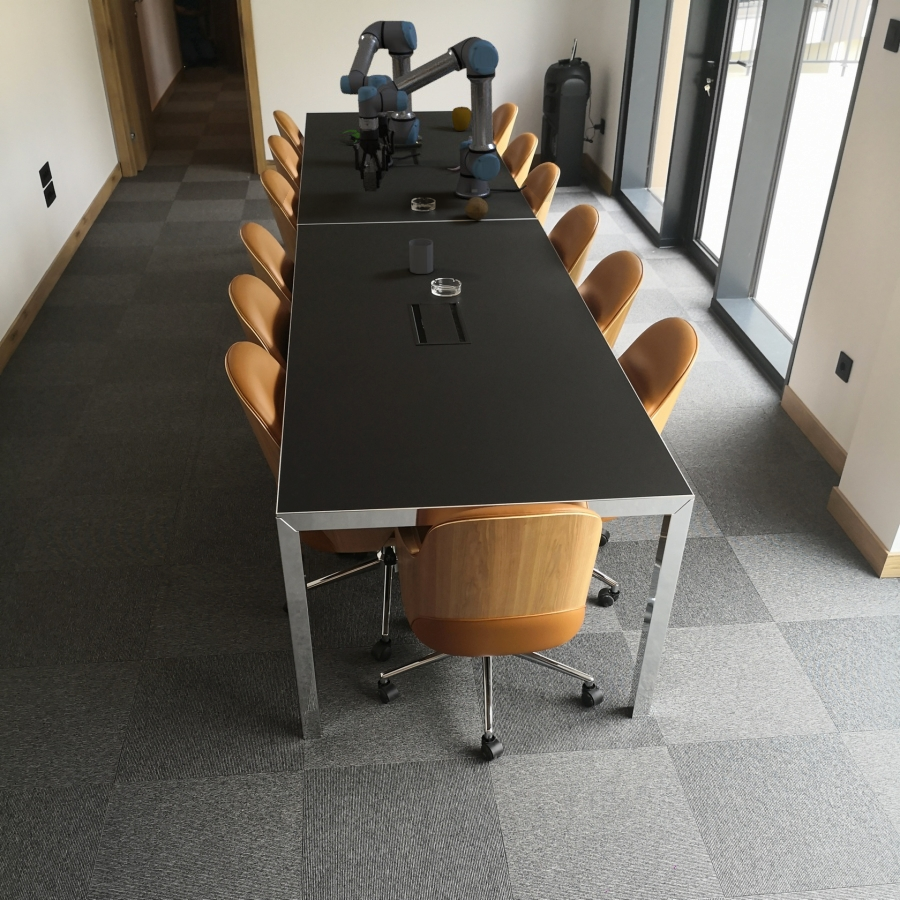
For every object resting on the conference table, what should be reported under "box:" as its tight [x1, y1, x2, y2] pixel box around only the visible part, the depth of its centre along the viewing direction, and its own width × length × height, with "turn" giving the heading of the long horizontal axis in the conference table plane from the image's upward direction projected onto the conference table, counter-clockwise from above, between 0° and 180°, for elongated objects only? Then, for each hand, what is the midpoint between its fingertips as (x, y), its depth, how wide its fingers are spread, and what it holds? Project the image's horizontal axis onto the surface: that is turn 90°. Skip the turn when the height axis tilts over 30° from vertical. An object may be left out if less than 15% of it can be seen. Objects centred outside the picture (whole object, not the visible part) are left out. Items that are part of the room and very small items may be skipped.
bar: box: [363, 151, 388, 193], centre depth 368 cm, size 34×5×8 cm, turn 176°
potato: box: [464, 197, 489, 220], centre depth 355 cm, size 10×14×8 cm
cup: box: [408, 237, 434, 275], centre depth 305 cm, size 8×8×10 cm
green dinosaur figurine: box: [340, 129, 360, 146], centre depth 465 cm, size 6×13×30 cm
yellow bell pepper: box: [451, 105, 472, 132], centre depth 487 cm, size 11×11×13 cm
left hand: (381, 170), depth 381 cm, fingers closed on bar, 5 cm apart
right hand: (371, 187), depth 358 cm, fingers closed on bar, 5 cm apart
